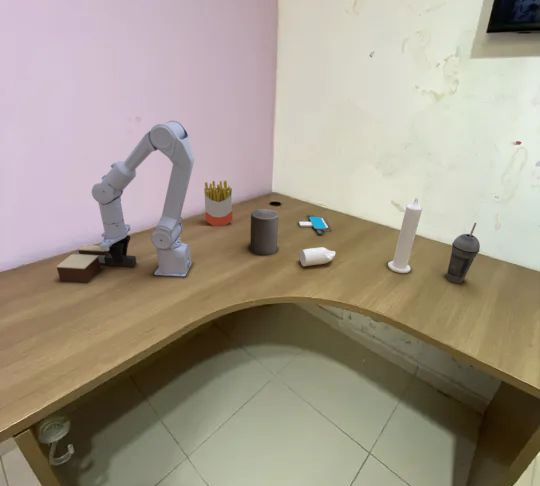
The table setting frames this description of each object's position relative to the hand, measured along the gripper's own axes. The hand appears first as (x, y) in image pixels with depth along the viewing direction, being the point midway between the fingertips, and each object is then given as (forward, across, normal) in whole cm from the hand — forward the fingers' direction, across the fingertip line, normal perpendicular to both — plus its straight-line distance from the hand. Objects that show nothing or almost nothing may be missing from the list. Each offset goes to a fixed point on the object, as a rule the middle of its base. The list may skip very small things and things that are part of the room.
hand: (120, 260), depth 97 cm
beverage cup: (+2, -3, +106) cm, 106 cm away
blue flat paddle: (+2, -40, +64) cm, 76 cm away
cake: (+2, +6, -9) cm, 11 cm away
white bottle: (+2, -8, +63) cm, 64 cm away
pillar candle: (+2, -16, +44) cm, 47 cm away
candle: (+2, -8, +90) cm, 90 cm away
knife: (+1, 0, -5) cm, 5 cm away
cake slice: (+2, -2, -9) cm, 9 cm away
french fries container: (+2, -36, +24) cm, 44 cm away
